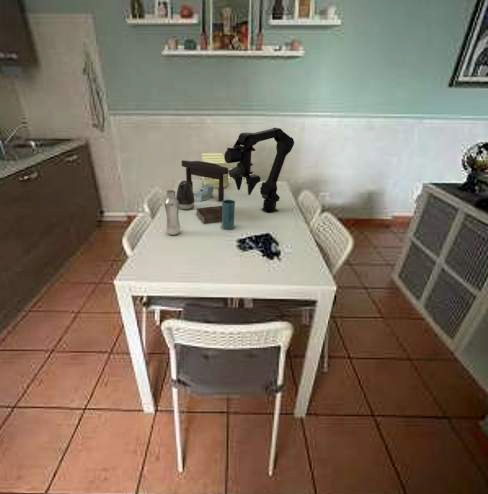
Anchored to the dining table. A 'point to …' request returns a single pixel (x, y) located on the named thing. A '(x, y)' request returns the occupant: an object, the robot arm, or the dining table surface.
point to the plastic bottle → (172, 213)
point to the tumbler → (228, 214)
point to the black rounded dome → (185, 195)
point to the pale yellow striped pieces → (219, 160)
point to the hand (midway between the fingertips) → (243, 192)
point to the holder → (210, 214)
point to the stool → (205, 171)
